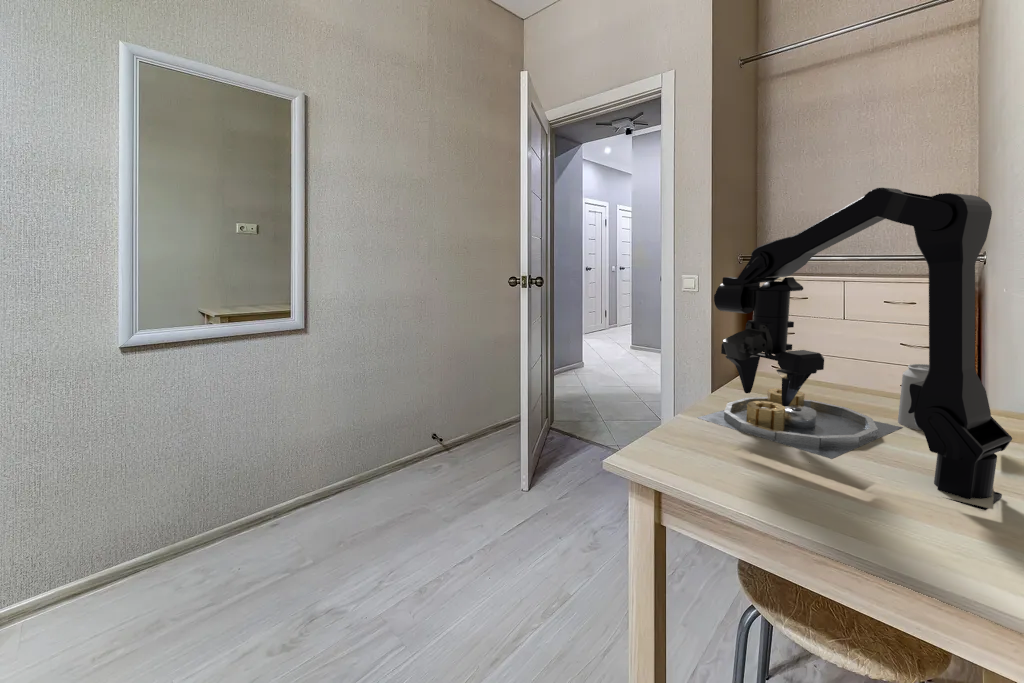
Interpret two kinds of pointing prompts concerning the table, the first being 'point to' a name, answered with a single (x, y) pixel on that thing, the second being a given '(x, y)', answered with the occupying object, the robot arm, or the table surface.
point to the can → (909, 376)
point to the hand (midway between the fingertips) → (765, 399)
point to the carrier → (827, 438)
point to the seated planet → (776, 397)
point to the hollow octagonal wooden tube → (766, 414)
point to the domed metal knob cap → (799, 416)
